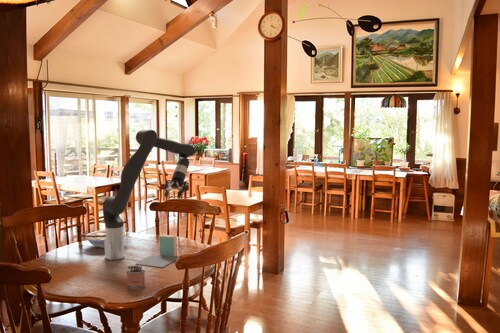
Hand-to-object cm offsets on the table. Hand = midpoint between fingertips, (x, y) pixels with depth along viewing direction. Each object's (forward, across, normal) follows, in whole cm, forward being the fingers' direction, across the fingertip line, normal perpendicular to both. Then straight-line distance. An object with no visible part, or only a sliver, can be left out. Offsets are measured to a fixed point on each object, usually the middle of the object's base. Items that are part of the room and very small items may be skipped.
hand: (172, 197), depth 236 cm
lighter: (+60, +15, -28) cm, 68 cm away
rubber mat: (+40, +6, -2) cm, 40 cm away
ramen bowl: (+31, -38, +7) cm, 49 cm away
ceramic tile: (+33, +5, +6) cm, 34 cm away
